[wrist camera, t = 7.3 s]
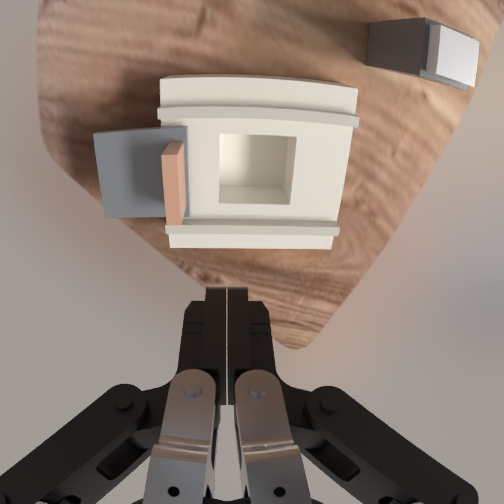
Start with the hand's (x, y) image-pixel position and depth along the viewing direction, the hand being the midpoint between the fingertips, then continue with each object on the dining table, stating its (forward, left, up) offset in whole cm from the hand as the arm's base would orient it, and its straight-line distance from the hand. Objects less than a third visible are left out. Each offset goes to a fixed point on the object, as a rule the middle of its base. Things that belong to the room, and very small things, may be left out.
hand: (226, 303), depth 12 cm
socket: (0, +2, -18) cm, 18 cm away
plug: (-11, +13, -18) cm, 25 cm away
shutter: (0, -6, -14) cm, 15 cm away
